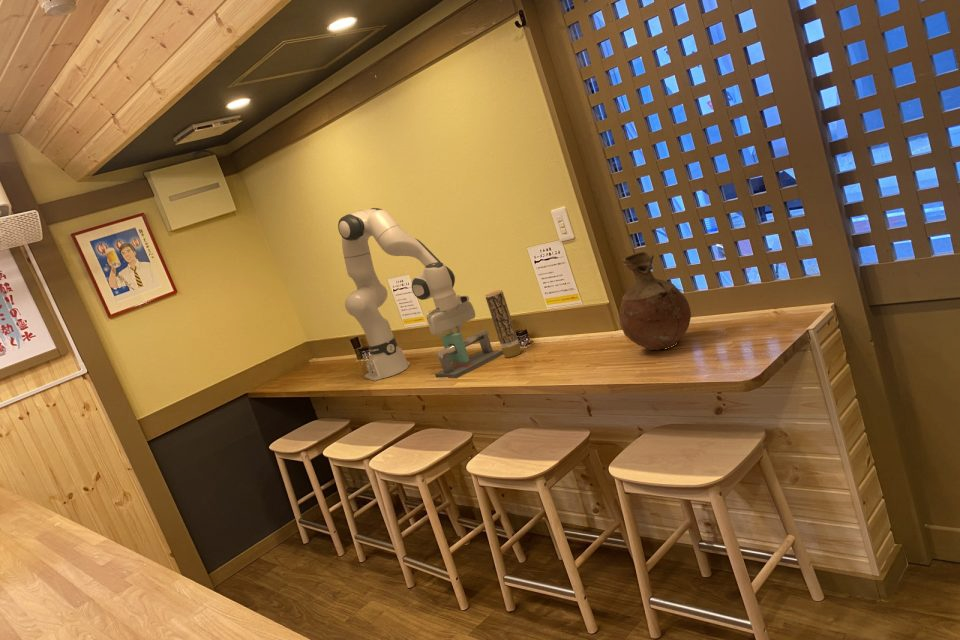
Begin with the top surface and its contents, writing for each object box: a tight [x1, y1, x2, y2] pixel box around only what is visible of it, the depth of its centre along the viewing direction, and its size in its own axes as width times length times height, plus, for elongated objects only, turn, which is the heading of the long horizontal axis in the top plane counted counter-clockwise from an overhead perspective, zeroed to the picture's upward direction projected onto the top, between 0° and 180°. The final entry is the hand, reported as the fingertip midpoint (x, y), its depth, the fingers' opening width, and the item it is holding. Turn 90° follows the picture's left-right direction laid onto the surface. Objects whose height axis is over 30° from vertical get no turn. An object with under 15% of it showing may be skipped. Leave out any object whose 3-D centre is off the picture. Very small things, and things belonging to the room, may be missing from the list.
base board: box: [434, 349, 504, 379], centre depth 280 cm, size 14×24×2 cm, turn 128°
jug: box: [618, 251, 692, 351], centre depth 224 cm, size 22×22×30 cm
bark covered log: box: [484, 289, 522, 359], centre depth 273 cm, size 7×7×25 cm
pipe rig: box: [436, 328, 494, 373], centre depth 280 cm, size 4×24×9 cm, turn 128°
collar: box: [440, 332, 470, 363], centre depth 277 cm, size 11×2×11 cm, turn 38°
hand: (458, 337), depth 278 cm, fingers closed
